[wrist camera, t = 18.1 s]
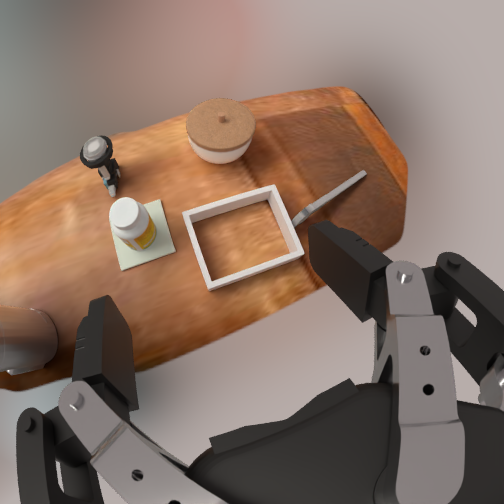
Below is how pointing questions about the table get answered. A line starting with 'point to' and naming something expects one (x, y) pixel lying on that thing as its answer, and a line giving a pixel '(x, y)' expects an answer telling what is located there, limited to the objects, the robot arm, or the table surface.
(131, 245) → the supplement bottle
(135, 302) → the table surface
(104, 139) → the push button
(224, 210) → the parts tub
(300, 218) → the caliper
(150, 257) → the rubber mat
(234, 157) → the lidded jar
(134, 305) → the table surface
